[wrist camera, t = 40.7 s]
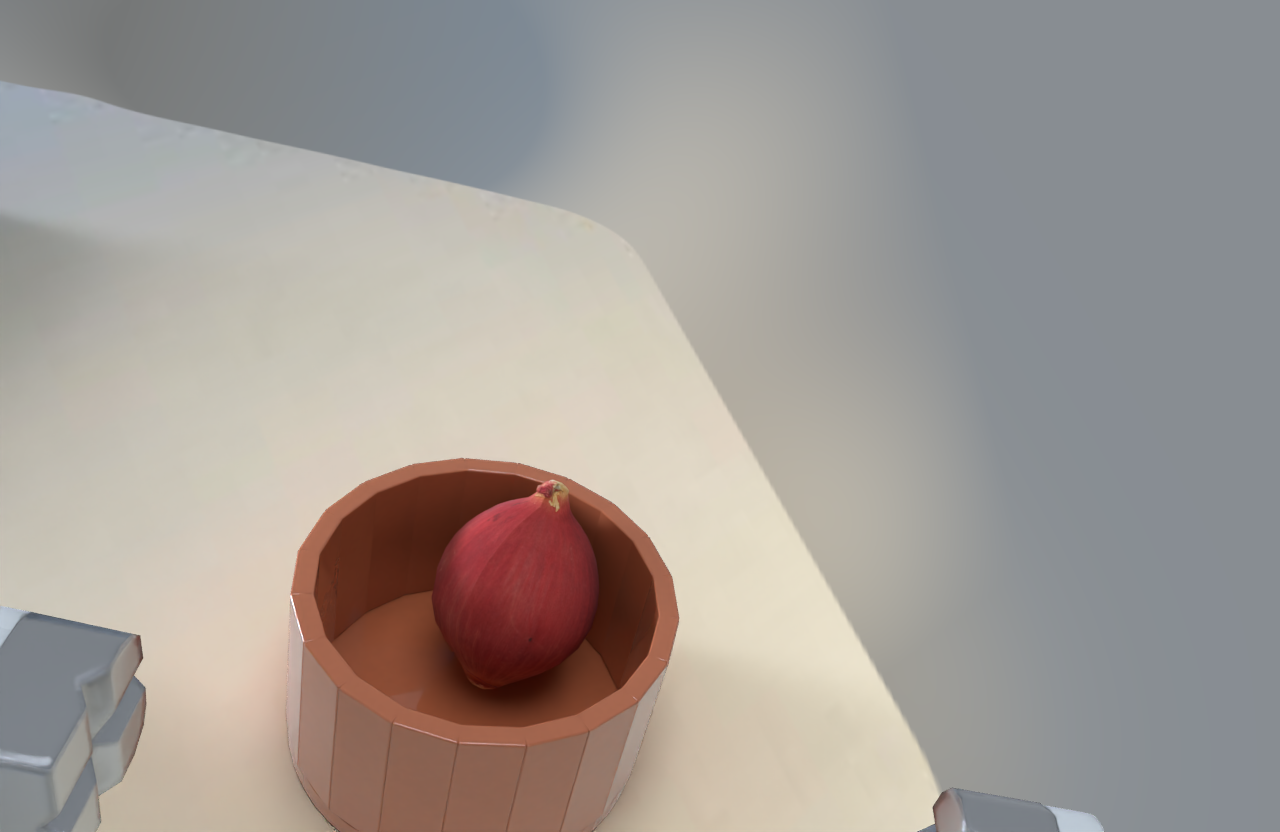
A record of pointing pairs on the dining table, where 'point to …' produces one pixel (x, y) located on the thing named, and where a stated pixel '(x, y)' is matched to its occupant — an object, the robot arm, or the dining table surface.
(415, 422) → the dining table surface
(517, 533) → the onion
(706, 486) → the dining table surface
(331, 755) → the terracotta bowl
